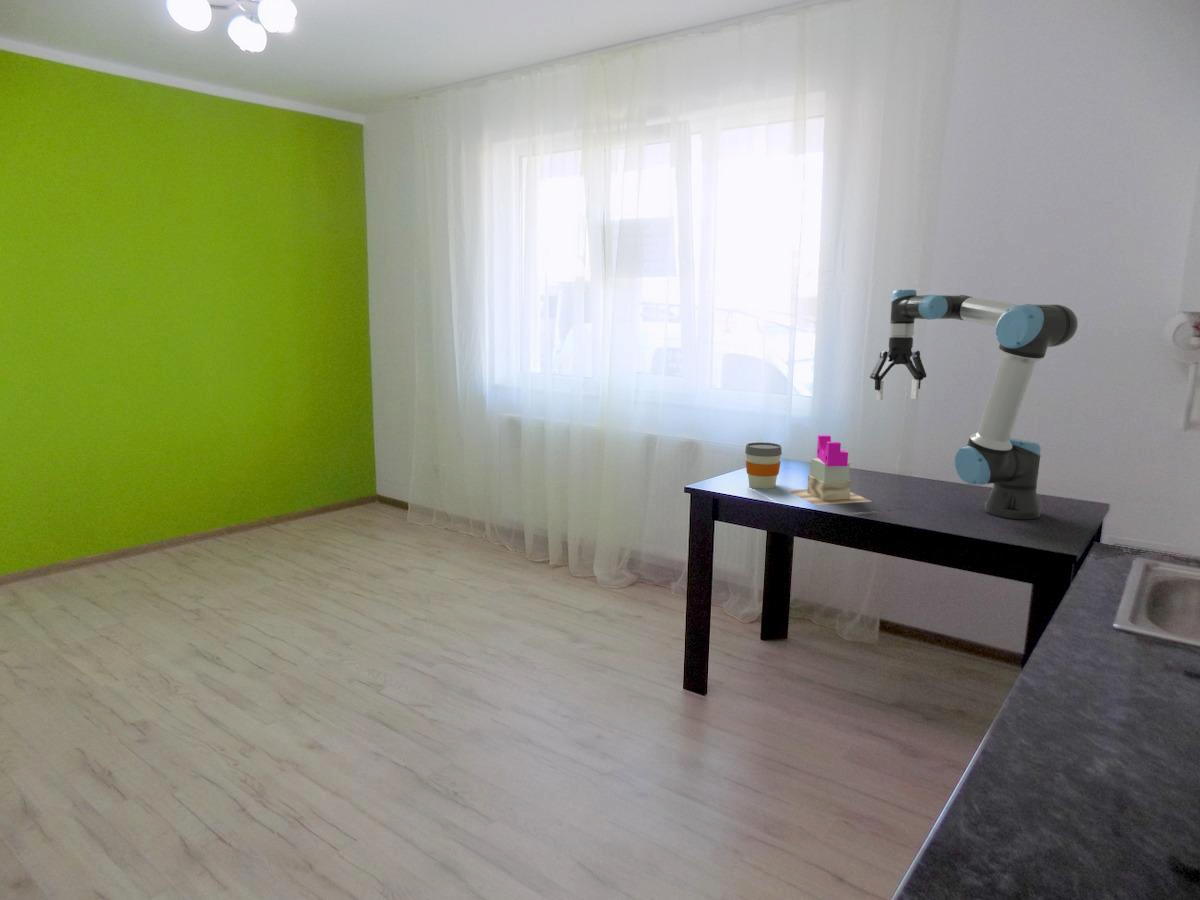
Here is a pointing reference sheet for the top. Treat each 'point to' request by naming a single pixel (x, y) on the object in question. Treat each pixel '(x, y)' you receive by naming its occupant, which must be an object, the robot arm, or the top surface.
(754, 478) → the reusable coffee cup
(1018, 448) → the robot arm
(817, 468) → the tower top
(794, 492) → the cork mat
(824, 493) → the tower base
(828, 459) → the toy block
